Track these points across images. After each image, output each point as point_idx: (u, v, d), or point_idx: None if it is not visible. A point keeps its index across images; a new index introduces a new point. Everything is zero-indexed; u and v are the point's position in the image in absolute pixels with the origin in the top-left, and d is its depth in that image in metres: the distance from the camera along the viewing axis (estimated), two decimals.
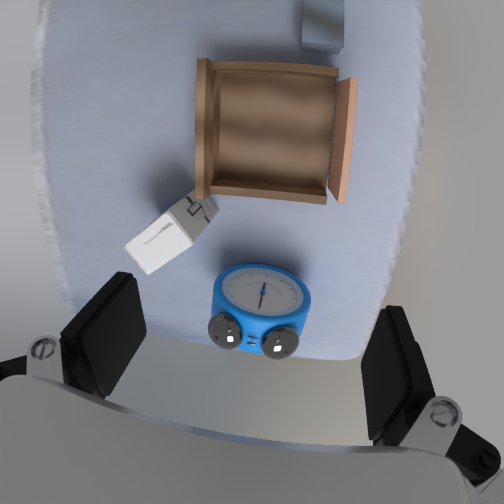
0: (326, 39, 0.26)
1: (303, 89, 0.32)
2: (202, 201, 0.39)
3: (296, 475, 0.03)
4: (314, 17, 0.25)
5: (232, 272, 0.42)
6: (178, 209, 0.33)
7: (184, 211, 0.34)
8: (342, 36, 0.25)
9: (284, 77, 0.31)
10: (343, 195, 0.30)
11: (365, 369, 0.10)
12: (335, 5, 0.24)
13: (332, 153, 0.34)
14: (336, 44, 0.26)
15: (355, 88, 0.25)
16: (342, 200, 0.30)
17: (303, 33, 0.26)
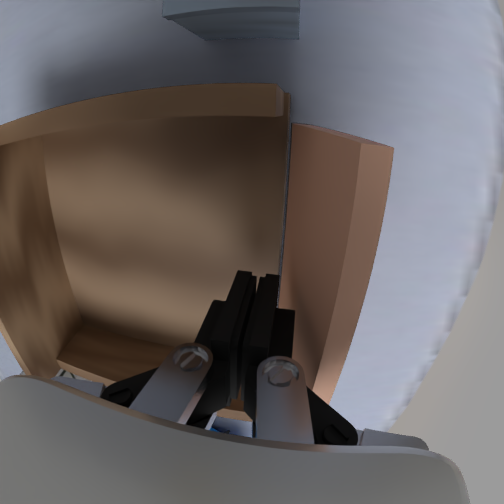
0: None
1: (198, 150, 0.13)
2: None
3: (296, 475, 0.03)
4: None
5: None
6: None
7: None
8: None
9: (149, 123, 0.12)
10: None
11: None
12: None
13: None
14: (274, 2, 0.07)
15: (378, 196, 0.06)
16: None
17: None
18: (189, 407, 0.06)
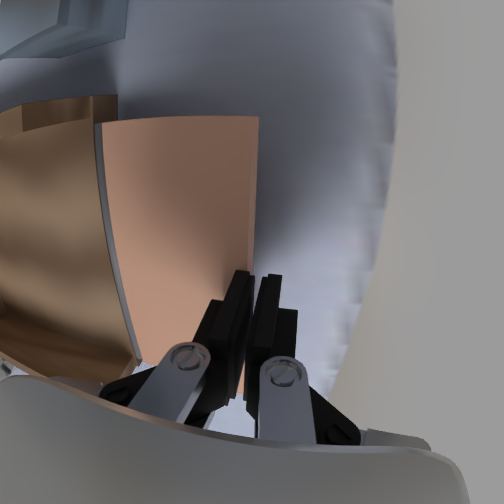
0: (27, 24, 0.06)
1: (41, 159, 0.12)
2: None
3: (296, 475, 0.03)
4: None
5: None
6: None
7: None
8: None
9: (15, 140, 0.11)
10: None
11: None
12: None
13: (134, 306, 0.14)
14: (42, 26, 0.06)
15: (256, 147, 0.10)
16: None
17: None
18: (187, 406, 0.06)
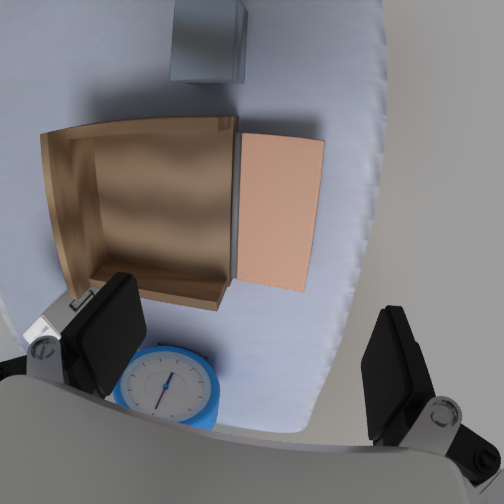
0: (206, 69, 0.18)
1: (187, 147, 0.24)
2: None
3: (296, 475, 0.03)
4: (188, 37, 0.17)
5: (138, 357, 0.34)
6: (57, 308, 0.25)
7: (65, 309, 0.26)
8: (230, 60, 0.18)
9: (162, 132, 0.23)
10: None
11: (365, 369, 0.10)
12: (221, 10, 0.16)
13: (243, 237, 0.26)
14: (220, 75, 0.18)
15: (323, 154, 0.22)
16: None
17: (172, 66, 0.18)
18: (65, 381, 0.06)
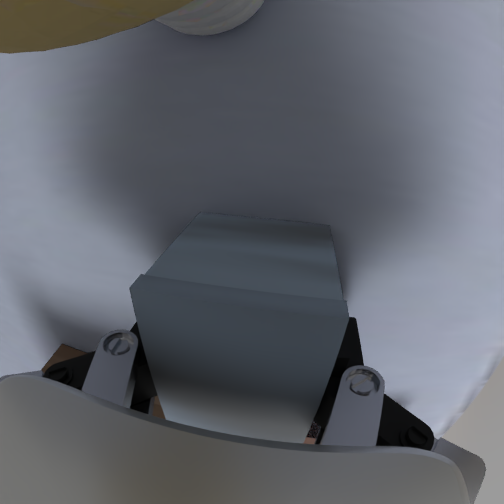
0: None
1: None
2: None
3: (295, 475, 0.03)
4: (196, 398, 0.08)
5: None
6: None
7: None
8: None
9: None
10: None
11: None
12: (290, 364, 0.06)
13: None
14: None
15: None
16: None
17: None
18: (129, 385, 0.06)
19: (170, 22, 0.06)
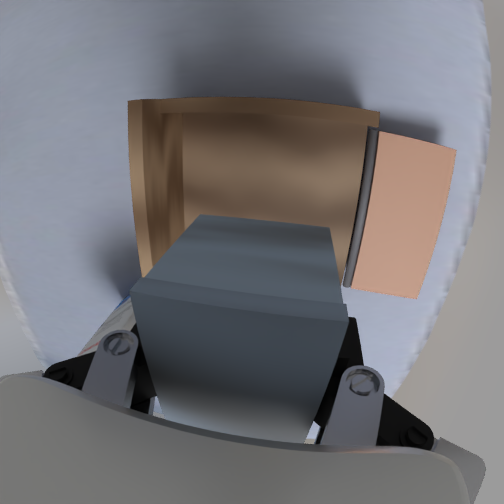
0: None
1: (314, 139, 0.20)
2: None
3: (295, 475, 0.03)
4: (196, 401, 0.08)
5: None
6: None
7: None
8: None
9: (283, 118, 0.20)
10: None
11: None
12: (290, 368, 0.06)
13: (367, 243, 0.23)
14: None
15: None
16: None
17: None
18: (130, 385, 0.06)
19: None
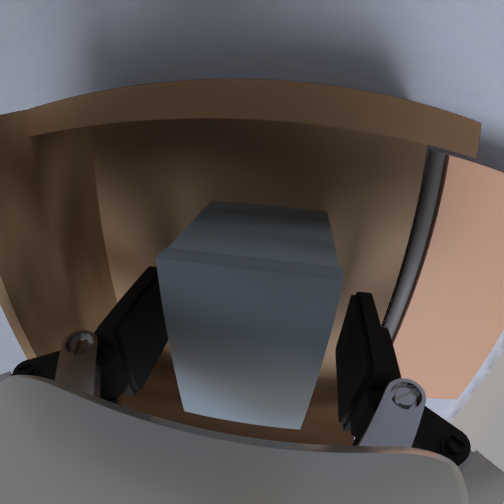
0: (252, 415, 0.10)
1: (327, 167, 0.11)
2: None
3: (296, 475, 0.03)
4: (210, 364, 0.09)
5: None
6: None
7: None
8: (302, 412, 0.09)
9: (266, 124, 0.10)
10: None
11: (338, 355, 0.11)
12: (295, 325, 0.08)
13: (403, 340, 0.13)
14: (280, 425, 0.10)
15: None
16: None
17: (184, 396, 0.10)
18: (96, 381, 0.06)
19: None
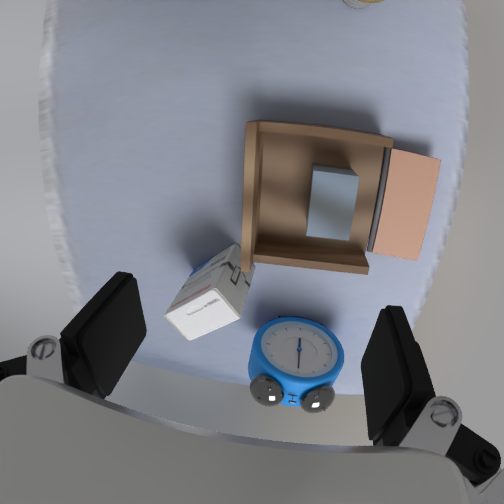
0: (332, 232, 0.31)
1: (351, 152, 0.32)
2: None
3: (296, 474, 0.03)
4: (322, 206, 0.30)
5: (269, 328, 0.42)
6: (223, 281, 0.33)
7: (228, 282, 0.34)
8: (349, 228, 0.30)
9: (332, 138, 0.31)
10: None
11: (365, 369, 0.10)
12: (347, 189, 0.29)
13: (383, 221, 0.34)
14: (341, 238, 0.31)
15: None
16: None
17: (308, 226, 0.31)
18: (65, 381, 0.06)
19: (353, 2, 0.23)
